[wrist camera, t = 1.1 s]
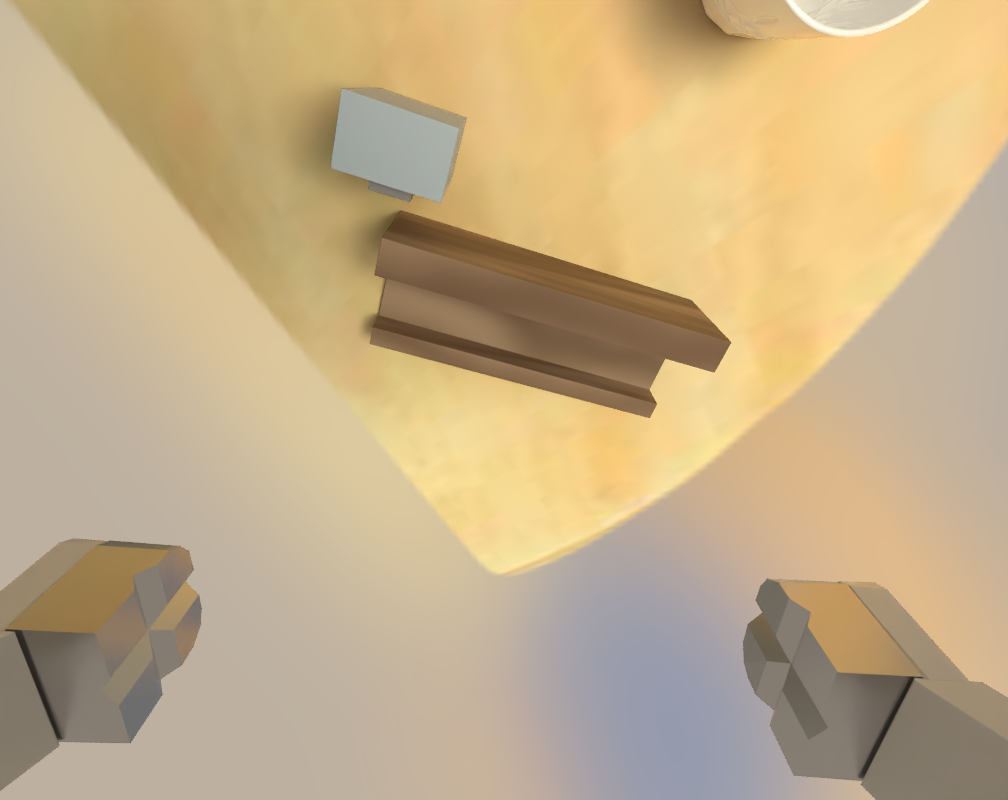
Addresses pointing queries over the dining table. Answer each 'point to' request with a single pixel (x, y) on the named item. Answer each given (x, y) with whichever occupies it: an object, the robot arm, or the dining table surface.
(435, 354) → the cleat board
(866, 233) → the dining table surface
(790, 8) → the white cup
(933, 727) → the robot arm
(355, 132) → the cabinet block
